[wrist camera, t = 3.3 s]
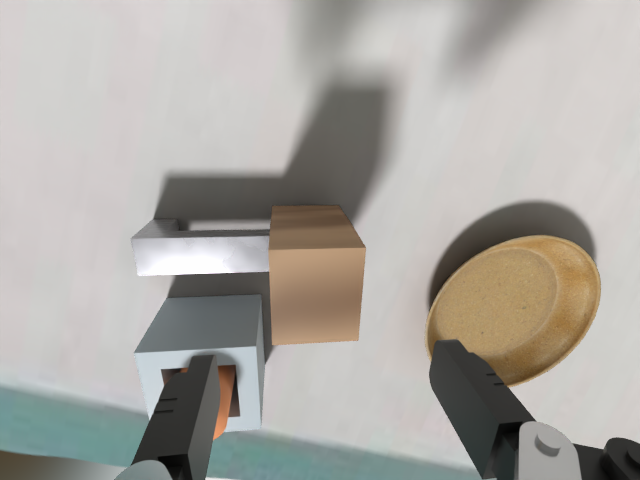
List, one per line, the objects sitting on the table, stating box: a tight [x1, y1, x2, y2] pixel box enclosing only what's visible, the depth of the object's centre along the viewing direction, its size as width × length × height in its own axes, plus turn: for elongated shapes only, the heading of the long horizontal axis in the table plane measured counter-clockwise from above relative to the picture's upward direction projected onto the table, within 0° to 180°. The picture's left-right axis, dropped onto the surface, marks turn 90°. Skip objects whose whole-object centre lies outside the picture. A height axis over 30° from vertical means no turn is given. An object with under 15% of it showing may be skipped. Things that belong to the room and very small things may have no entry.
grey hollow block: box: [134, 294, 265, 432], centre depth 24 cm, size 7×7×6 cm
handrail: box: [131, 219, 270, 276], centre depth 22 cm, size 2×13×4 cm, turn 89°
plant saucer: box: [425, 235, 601, 388], centre depth 27 cm, size 15×15×3 cm
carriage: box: [268, 205, 366, 345], centre depth 19 cm, size 5×4×7 cm
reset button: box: [179, 365, 236, 440], centre depth 22 cm, size 4×4×6 cm
